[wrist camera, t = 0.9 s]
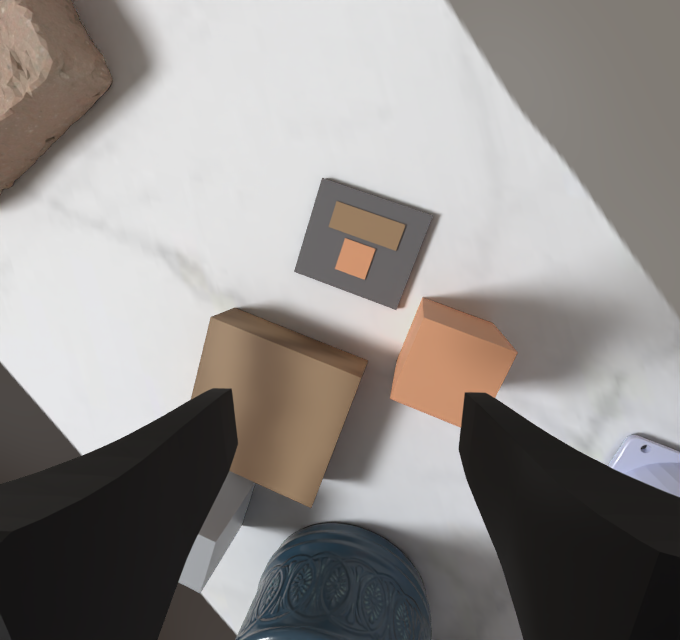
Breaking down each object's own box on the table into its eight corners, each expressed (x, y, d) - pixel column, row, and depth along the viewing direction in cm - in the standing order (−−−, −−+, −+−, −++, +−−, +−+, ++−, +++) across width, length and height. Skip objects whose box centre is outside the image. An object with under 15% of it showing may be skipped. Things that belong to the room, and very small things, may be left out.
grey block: (256, 481, 29) (215, 542, 23) (242, 525, 30) (200, 593, 24) (205, 458, 29) (153, 512, 24) (193, 502, 30) (141, 563, 25)
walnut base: (368, 358, 25) (361, 377, 22) (323, 475, 28) (311, 508, 24) (237, 306, 26) (210, 317, 23) (206, 423, 29) (178, 448, 26)
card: (432, 215, 22) (433, 215, 21) (396, 308, 23) (396, 310, 23) (323, 178, 23) (321, 177, 22) (296, 270, 24) (293, 271, 24)
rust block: (492, 322, 23) (517, 352, 17) (462, 386, 24) (476, 433, 18) (422, 297, 23) (423, 317, 17) (396, 360, 24) (390, 398, 19)
